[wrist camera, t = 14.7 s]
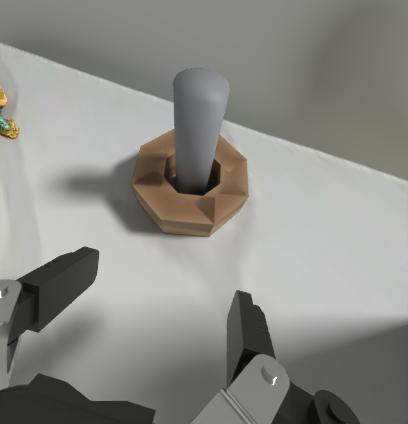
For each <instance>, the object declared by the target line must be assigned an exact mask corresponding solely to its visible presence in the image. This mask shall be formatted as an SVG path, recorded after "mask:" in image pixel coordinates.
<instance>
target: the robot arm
mask: <svg viewBox="0 0 408 424" xmlns="http://www.w3.org/2000/svg"><path fill="white" fill-rule="evenodd" d="M98 261H99V251H98V250H96V249H92V248H89V247H82V248H80V249H79V250H77V251H75V252H73V253H72V252H71V253H67V254H64V255H61V256H59V257H57V258H55V259H53V260H52V261H50V262H48V263H46V264H44V266H41V267H39V268H37V269H35V270H33V271H32V272H30V273H28V274H26V275H24V276H23V277H21V278H19V279H17V280H0V424H154V423H153V419H154V415H155V411H156V410H153V409H150V408H147V407H144V406H141V405H137V404H134V403H131V402H128V401H91V400H89V399H87V398H86V397H85V396H84V395H82V394H81V393H80V392H79V391H77V390H76V389H75V388H74V387H72V386H71V385H70V384H69V383H67V382H65V381H62V380H59V379H55V378H52V377H49V376H46V375H43V374H40V373H38V375H37V376H36V377H35V378H34V379H33V380H32V381H31V382H30V383H29V385H18V386H13V387H9V382H10V378H11V374H12V370H13V367H14V363H15V360H16V356H17V352H18V349H19V345H20V342H21V334H22V333H24V332H25V331H26V330H27V329H28V330H31V331H34V332H37V333H38V332H40V331H41V330H42V329H43V328H44V327H45V326H46V325H47V324H48V323H50V322H51V321H52V320H53V319H54V318H55V317H56V316H57V315H58V314H60V313H61V312H62V311H63V310H64V309H65V308H66V307H67V306H68V305H70V304H71V303H72V302H73V301H74V300H75V299H76V298H77V297H78V296H80V295H81V294H82V293H83V292H84V291H85V290H86V289H87V288H88V287H90V286H91V285H92V284H93V282H94V280H95V278H96V276H97V270H98ZM8 387H9V388H8ZM191 424H360V423H359V421H358V419H357V417H356V416H355V414H354V413H353V411H352V410H351V409H350V408H349V407H348V405H347V404H346V403H345V402H344V401H342V400H341V399H340V398H339V397H337V396H336V395H334V394H333V393H331V392H329V391H325V390H320V391H318V392H316V394H315V396H314V397H313V396H312V395H310V394H309V393H307V392H305V391H304V390H302V389H301V388H299V387H297V386H296V385H294V384H293V383H292V382H291V381H289V377H288V375H287V372H286V371H285V369H284V368H283V366H282V365H281V364H280V363H279V362H278V361H277V360H276V358H275V354H274V350H273V346H272V342H271V338H270V334H269V332H268V327H267V324H266V319H265V315H264V313H263V312H262V310H261V309H260V307H259V306H257V305H253V302H252V297H251V294H250V293H247V292H243V291H239V290H237V291H236V293H235V296H234V299H233V302H232V305H231V308H230V311H229V314H228V318H227V390H225V389H224V388H223V389H221V390H220V391H219V392H218V393H217V394H216V395H215V396H214V398H213V399H212V400H211V401H210V402H209V403H208V404H207V406H206V407H205V408H204V409H203V410H202V411H201V412H200V414H199V415H198V416H197V417H196V418H195V419H194V420H193V422H192V423H191Z"/></svg>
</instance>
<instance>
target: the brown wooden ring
mask: <svg viewBox="0 0 408 424" xmlns="http://www.w3.org/2000/svg"><path fill="white" fill-rule="evenodd" d="M175 173H176V165H175V129H173V130H171V131H169V132H167V133H165V134H163V135H161V136H159V137H158V138H156V139H154V140H152V141H150V142H148V143H146V144H144V145H142V146H141V147H140V151H139V155H138V159H137V163H136V167H135V171H134V174H133V178H132V182H131V185H132V188H133V190H134V193H135V195H136V198H137V200H138V202H139V203H140V204H141V206H142V207H143V208H144V209H145V210H146V212H147V213H148V214H149V215H150V216H151V218H152V219H153V220H154V221H155V222H156V224H157V225H158V226H159V227H160V228H161V230H162V231H163V232H164V233H172V234H183V235H194V236H205V237H209V236H210V235H212V234H213V233H214V232H215V231H216V230H218V229H219V228H220V227H221V226H222V225H224V224H225V223H226V222H227V221H228V220H230V219H231V218H232V217H233V216H234V215H236V214H237V213H238V212H239V211H240V209H241V208H242V206H243V205H244V203H245V201H246V200H247V198H248V197H249V196H248V175H247V159H246V158H245V157H244V156H243V155H241V154H240V153H239V152H238V151H237V150H236V149H235V148H234V147H232V146H231V145H230V144H229V143H228V142H227V141H226V140H225V139H224V138H222V137H221V136H220V135H219V138H218V142H217V146H216V151H215V155H214V159H213V163H212V168H211V172H210V176H209V177H210V178H211V179H212V180H213V181H214V182H215V188H213V189H212V190H211V191H209V192H208V193H206V194H205V195H204V196H198V195H189V194H179V193H178V192H177V191H176V190H175V189H174V188H173V187H172V186H171V185H170V184H169V183H168V178H169V177H171V176H172V175H174V174H175Z"/></svg>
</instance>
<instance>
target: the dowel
mask: <svg viewBox="0 0 408 424" xmlns="http://www.w3.org/2000/svg"><path fill="white" fill-rule="evenodd" d="M173 84H174V85H173V86H174V126H175V165H176V191H177V192H178V193H179V194H189V195H198V196H204V195H205V193H206V189H207V185H208V180H209V176H210V172H211V168H212V163H213V159H214V155H215V151H216V146H217V142H218V138H219V134H220V129H221V125H222V121H223V116H224V112H225V108H226V104H227V99H228V95H229V84H228V82H227V81H226V80H225V79H224V78H223V77H222V76H221V75H220V74H218V73H216V72H214V71H211V70H208V69H203V68H191V69H186V70H183V71H181V72H180V73H178V74H177V75H176V76H175V78H174V82H173Z"/></svg>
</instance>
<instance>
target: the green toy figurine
mask: <svg viewBox="0 0 408 424" xmlns="http://www.w3.org/2000/svg"><path fill="white" fill-rule="evenodd" d="M6 102H7V98H6V96H5V93H4V91H3V90H2V89H1V87H0V107H1V106H3V105H6ZM13 121H14V120H12V119H11V120H8V119H6V120H5V119H3V117H2V116H1V115H0V133H2V134H4V135H6V136H9V137H11V138H16V137H17V135H18V134H19V128H18V127H16V126H15V124H14V122H13Z"/></svg>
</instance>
